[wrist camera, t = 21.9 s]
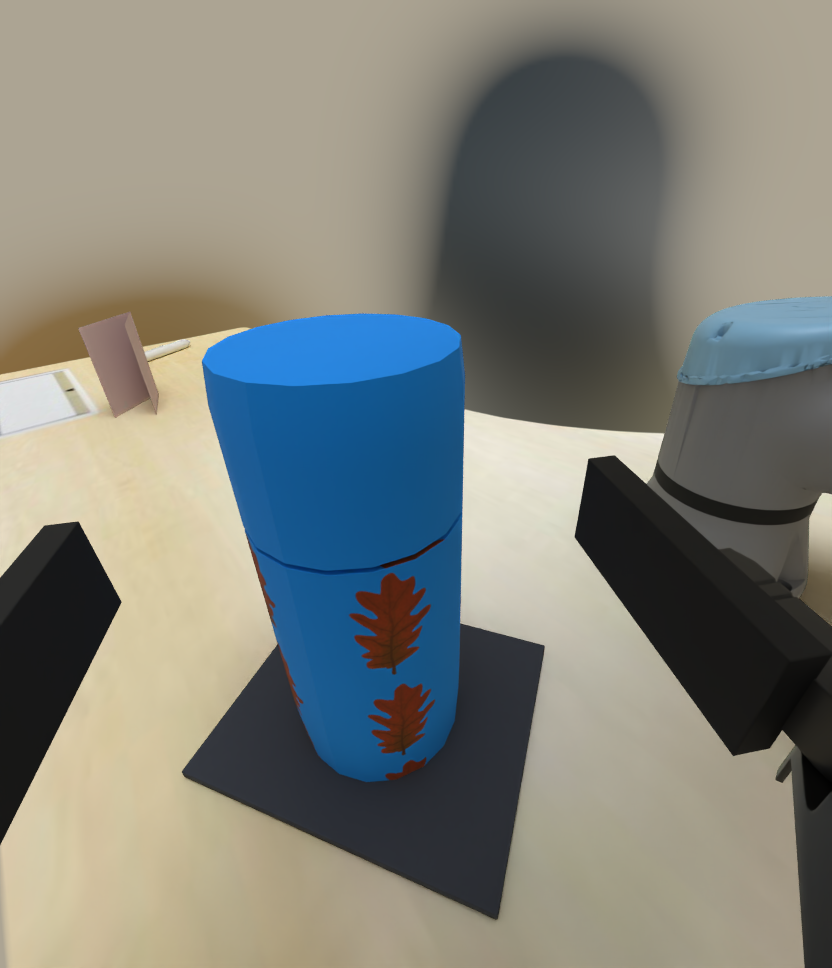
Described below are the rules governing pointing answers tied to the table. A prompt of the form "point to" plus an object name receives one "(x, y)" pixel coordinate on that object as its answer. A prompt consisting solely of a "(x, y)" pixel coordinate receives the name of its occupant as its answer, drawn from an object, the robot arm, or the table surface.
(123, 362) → the greeting card
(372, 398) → the thermos
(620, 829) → the table surface
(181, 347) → the marker
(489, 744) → the desk mat
